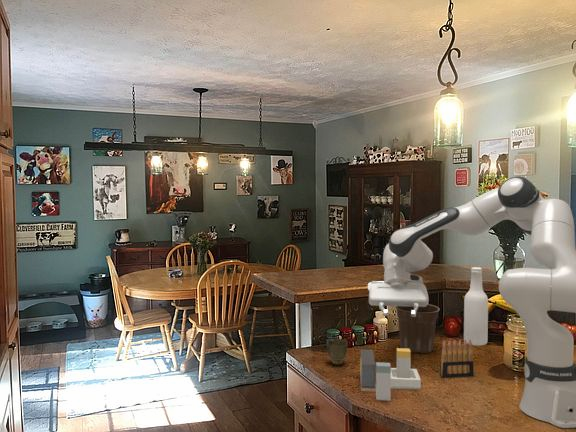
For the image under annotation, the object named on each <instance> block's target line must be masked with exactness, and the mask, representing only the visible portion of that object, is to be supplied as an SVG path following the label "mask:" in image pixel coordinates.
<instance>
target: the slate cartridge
mask: <svg viewBox="0 0 576 432" xmlns="http://www.w3.org/2000/svg"><path fill="white" fill-rule="evenodd" d="M391 368H392V366H391V363H390V362H380V361H379V362H377V361H375V382H376V392H375V398H376V399H375V400H376V401H388V402H389V401H391V392H392V391H391Z"/></svg>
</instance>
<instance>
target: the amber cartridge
mask: <svg viewBox="0 0 576 432" xmlns="http://www.w3.org/2000/svg"><path fill="white" fill-rule="evenodd" d="M411 354H412V352H411V351H410V349H407V348H401V347H400V348H399V347H396V366H395V368H396V378H411V369H412V368H411V364H412V363H411V362H412V361H411V359H412V357H411Z"/></svg>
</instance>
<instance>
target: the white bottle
mask: <svg viewBox="0 0 576 432" xmlns="http://www.w3.org/2000/svg"><path fill="white" fill-rule="evenodd" d="M470 271H471V272H470V273H471V275H470V276H471V277H470V285H469V287H470V288H469V290H468V291H467V292H466V293H465V295H464V300H463V302H464V303H463V304H464V305H463V307H464V308H463V341H464V340H466V343H467V345H468V344H469V340H470V339H471V342H472V346H475V347H482V346H486V345H487V343H488V340H489V339H488V338H489V336H488V333H489V332H488V328H489V299H488V295H487V294H486V293H485V291H484V287H483V286H484V285H483V276H482V275H483V268H482V267H479V266H473V267H471V270H470Z"/></svg>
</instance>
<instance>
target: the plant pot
mask: <svg viewBox="0 0 576 432" xmlns="http://www.w3.org/2000/svg"><path fill="white" fill-rule="evenodd" d="M395 309H396V314H397V315H396V317H397V319H398V320H397V321H398V332H399V333H398V334H399V345H400V346H399V347H400V348H407V349H410V351H411V354H412V353H414V354H417V353H420V354H427V353H428V354H429V353H431V352H433V350H434V341H435V334H436V327H437V326H436V325H437V321H438V317H439V312H440V311H441V310H440V307H438V306H437V305H434V304H429V303H428V305H427V306H426V307H418V310H417V311H416V317H411V310H414V307H413V306H395Z"/></svg>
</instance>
